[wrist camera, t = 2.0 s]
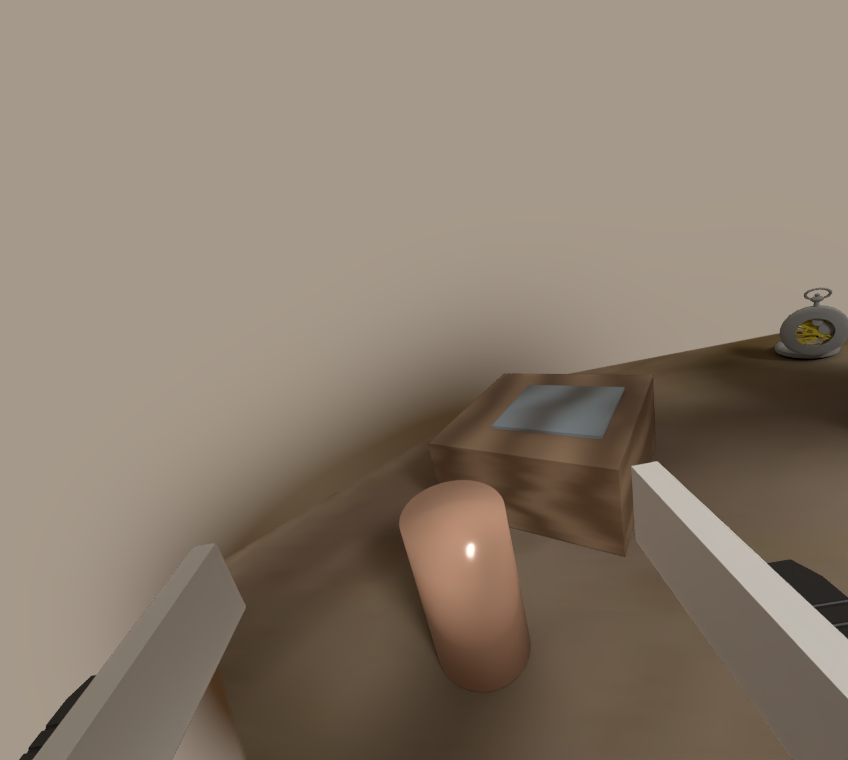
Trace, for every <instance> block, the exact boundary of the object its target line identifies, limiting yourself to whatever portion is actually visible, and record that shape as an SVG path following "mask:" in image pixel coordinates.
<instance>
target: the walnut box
mask: <svg viewBox="0 0 848 760" xmlns="http://www.w3.org/2000/svg"><path fill="white" fill-rule="evenodd" d="M655 442H656V439H655V413H654V387H653V375H601V374H503V375H502V376H501V377H500V378H499V379H497V380H496V382H494V383H493V384H492V385H491V386H490V387H489V388H488V389H487V390H486V391H484V392H483V393H482V394H481V395H480V396H479V397H478V398H477V399H476V400H475V401H474V402H472V404H470V405H469V406H468V407H467V408H466V409H465V410H464V411H463V412H462V413H461V414H459V415H458V416H457V417H456V418H455V419H454V420H453V421H452V422H451V423H450V424H449V425H448V426H446V427H445V428H444V429H443V430H442V431H441V432H440V433H439V434H438V435H437V436H435V437H434V438H433V439H432V440H431V441H430V442H429V443H428V445H429V449H430V453H431V457H432V462H433V466H434V470H435V474H436V478H437V482H438V484H440V483H444V482H448V481H456V480H471V481H477V482H481V483H484V484H486V485H488V486H490V487H492V488H494V489H495V490H496V491H497V492H498V493H499V494H500V495H501V497H502V499H503V501H504V504H505V509H506V515H507V520H508V525H509V527H511V528H515V529H519V530H523V531H527V532H531V533H535V534H539V535H542V536H546V537H550V538H554V539H558V540H562V541H566V542H570V543H574V544H578V545H582V546H585V547H589V548H593V549H597V550H601V551H605V552H609V553H613V554H617V555H621V556H624V557H625V555H626V551H627V547H628V544H629V540H630V536H631V532H632V528H633V525H634V507H633V489H632V471H631V466H634V465H640V464H645V463H650V461H651V457H652V453H653V449H654V446H655Z"/></svg>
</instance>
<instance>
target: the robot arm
mask: <svg viewBox="0 0 848 760" xmlns="http://www.w3.org/2000/svg"><path fill="white" fill-rule="evenodd" d="M631 471H632V489H633V507H634V524H635V540H636V542H637V543H638V544H639V546H640V547H641V549H642V550H643V551H644V553H645V554H646V556H647V557H648V558H649V560H650V561H651V563H652V564H653V565H654V567H655V568H656V570H657V571H658V572H659V574H660V575H661V577H662V578H663V579H664V581H665V582H666V584H667V585H668V586H669V588H670V589H671V591H672V592H673V593H674V595H675V596H676V598H677V599H678V600H679V602H680V603H681V605H682V606H683V607H684V609H685V610H686V612H687V613H688V614H689V616H690V617H691V619H692V620H693V621H694V623H695V624H696V626H697V627H698V628H699V630H700V631H701V633H702V634H703V635H704V637H705V638H706V640H707V641H708V642H709V644H710V645H711V647H712V648H713V649H714V651H715V652H716V654H717V655H718V656H719V658H720V659H721V661H722V662H723V663H724V665H725V666H726V668H727V669H728V670H729V672H730V673H731V675H732V676H733V677H734V679H735V680H736V682H737V683H738V684H739V686H740V687H741V689H742V690H743V691H744V693H745V694H746V696H747V697H748V698H749V700H750V701H751V703H752V704H753V706H754V707H755V708H756V710H757V711H758V713H759V714H760V715H761V717H762V718H763V720H764V721H765V722H766V724H767V725H768V727H769V728H770V729H771V731H772V732H773V734H774V735H775V736H776V738H777V739H778V741H779V742H780V743H781V745H782V746H783V748H784V749H785V750H786V752H787V753H788V755H789V756H790V757H791V759H792V760H848V597H847V596H845V595H844V594H843V593H842V592H841V591H839V590H838V589H837V588H836V587H835V586H833V585H832V584H831V583H830V582H829V581H827V580H826V579H825V578H824V577H823V576H821V575H819V574H817V573H815V572H813V571H811V570H810V569H808V568H806V567H804V566H802V565H800V564H798V563H796V562H794V561H793V560H791V559H790V560H784V561H778V562H772V563H766V562H765V561H764V560H763V559H761V558H760V557H759V556H758V555H757V554H756V553H755V552H754V551H753V550H752V549H751V548H750V547H749V546H748V545H747V544H745V543H744V542H743V541H742V540H741V539H740V538H739V537H738V536H737V535H736V534H735V533H734V532H733V531H732V530H730V529H729V528H728V527H727V526H726V525H725V524H724V523H723V522H722V521H721V520H720V519H719V518H718V517H717V516H715V515H714V514H713V513H712V512H711V511H710V510H709V509H708V508H707V507H706V506H705V505H704V504H703V503H702V502H700V501H699V500H698V499H697V498H696V497H695V496H694V495H693V494H692V493H691V492H690V491H689V490H688V489H687V488H685V487H684V486H683V485H682V484H681V483H680V482H679V481H678V480H677V479H676V478H675V477H674V476H673V475H672V474H670V473H669V472H668V471H667V470H666V469H665V468H664V467H663V466H662V465H661V464H660V463H659V462H658V461H656V462H651V463H645V464H640V465H634V466H631ZM245 608H246V605H245V603H244V601H243V599H242V597H241V595H240V593H239V591H238V589H237V586H236V584H235V582H234V580H233V578H232V576H231V574H230V572H229V570H228V567H227V565H226V563H225V561H224V559H223V557H222V555H221V553H220V551H219V548H218V547H217V544H216V543H212V544H206V545H201V546H196V547H193V548H192V550H191V551H190V552H189V553H188V555H187V556H186V557H185V559H184V560H183V561H182V563H181V564H180V565H179V567H178V568H177V569H176V571H175V572H174V573H173V575H172V576H171V577H170V578H169V580H168V581H167V582H166V584H165V585H164V587H163V588H162V589H161V590H160V592H159V593H158V594H157V596H156V597H155V598H154V600H153V601H152V602H151V604H150V605H149V606H148V608H147V609H146V610H145V612H144V613H143V614H142V616H141V617H140V618H139V620H138V621H137V622H136V624H135V625H134V626H133V627H132V629H131V630H130V631H129V633H128V634H127V635H126V637H125V638H124V640H123V641H122V642H121V643H120V645H119V646H118V647H117V649H116V650H115V652H114V653H113V654H112V655H111V657H110V658H109V659H108V661H107V662H106V663H105V665H104V666H103V667H102V669H101V670H100V671H99V673H98V674H97V675H95V676H91V677H90V678H89V679H88V680H87V681H86V682H84V683H83V684H82V685H81V686H80V687H79V688H78V689H77V690H76V691H75V692H74V693H73V694H72V695H71V696H70V697H68V699H67V700H66V701H65V702H64V703H63V705H62V706H61V707H60V708H59V710H58V711H57V712H56V713H55V715H54V716H53V717H52V719H51V720H50V721H49V722H48V724H47V725H46V729H45V730H44V731H41V733H40V734H39V735H38V737H37V738H36V739H35V740H34V742H33V743H32V744H31V746H30V747H29V751H28V752H27V753H26V754H23V756H22V757H21V758H20V759H19V760H172V758H173V757H174V755H175V753H176V751H177V748H178V746H179V744H180V742H181V740H182V738H183V736H184V734H185V732H186V730H187V728H188V726H189V724H190V722H191V719H192V717H193V715H194V713H195V711H196V709H197V707H198V705H199V703H200V701H201V699H202V697H203V695H204V693H205V691H206V689H207V687H208V685H209V683H210V681H211V678H212V676H213V674H214V672H215V670H216V668H217V666H218V664H219V662H220V660H221V658H222V656H223V654H224V652H225V650H226V648H227V646H228V643H229V641H230V639H231V637H232V635H233V633H234V631H235V629H236V627H237V625H238V623H239V621H240V619H241V617H242V615H243V613H244V611H245Z"/></svg>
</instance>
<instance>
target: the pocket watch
mask: <svg viewBox="0 0 848 760" xmlns="http://www.w3.org/2000/svg"><path fill="white" fill-rule="evenodd" d="M819 289H822V290H827V291H828V292H829V294H828V295H827V296H825V297H822V296H820V294H818V293H817V294H815V297H812V298H809V297H808V296H807V294H808V293H809V292H811V291H813V290H819ZM831 294H832V291H831V290H830V289H828V288H816V289H811V290H809V291H807V292H806V293H804V297H805V298H806V299H810V300H811V301H812V302H814V305H813V306H810V307H806V308H803V309H800V310H798V311H796V312H794V313H793V314H791V315H789V316H788V318H787V319H786V320H785V321H784V322H783V324H782V326H781V328H780V338H781V341H782V342H780V343H778V344H776V345H775V351H776V352H777V353H778V354H781V355H784V356H787V357H793V358H804V359H806V358H808V359H809V358H823V357H828V356H832V355H835V354H837V353H838V352H839V351H840V346H841V345H842V344H843V343H844V342H845V341H846V340H847V338H848V318H847V317H846V315H845V314H844V313H842V312H841V311H840V310H838V309H836V308H833V307H829V306H819V302H820V301H822V300H823V299H824V298H827V297H829V296H830V295H831ZM799 326H802V328H801V327H799ZM803 327H805V328H803ZM798 328H801V331H802V332H803V333H800V331H799V329H798ZM802 329H803V330H805V329H806V330H805V331H803V330H802ZM807 330H808V331H807ZM796 331H799V332H796ZM832 332H833V333H832ZM830 333H831V334H830ZM827 334H830V335H827ZM796 335H801V336H802V335H804V337H801V338H799V339H797V338H796ZM815 336H816V337H817V338H818V336H821V337H823V338H819V339H817V338H816V337H815ZM827 337H828V338H827ZM824 338H826V340H824ZM822 339H823V340H822Z"/></svg>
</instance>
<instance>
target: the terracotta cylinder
mask: <svg viewBox="0 0 848 760" xmlns="http://www.w3.org/2000/svg"><path fill="white" fill-rule="evenodd" d="M399 528H400V531H401V535H402V538H403V541H404V545H405V548H406V551H407V555H408V558H409V562H410V565H411V568H412V572H413V575H414V578H415V582H416V585H417V588H418V592H419V595H420V598H421V602H422V605H423V609H424V612H425V615H426V619H427V622H428V625H429V629H430V632H431V635H432V639H433V642H434V645H435V649H436V652H437V656H438V659H439V662H440V665H441V667H442V669H443V671H444V672H445V674H446V675H447V676H448V677H449V679H450V680H452V681H453V682H454V683H455V684H457V685H458V686H460V687H462V688H464V689H466V690H470V691H474V692H492V691H496V690H499V689H501V688H504V687H506V686H507V685H509V684H511V683H512V682H513V681H514V680H515V679H517V677H518V676H519V675H520V674H521V673H522V671H523V670H524V668H525V666H526V664H527V662H528V659H529V655H530V637H529V632H528V626H527V621H526V616H525V610H524V605H523V600H522V595H521V589H520V584H519V579H518V573H517V568H516V563H515V557H514V552H513V547H512V541H511V536H510V531H509V525H508V520H507V515H506V509H505V504H504V501H503V499H502V497H501V495H500V494H499V493H498V492H497V491H496V490H495V489H494V488H492V487H490V486H488V485H486V484H484V483H481V482H477V481H471V480H456V481H448V482H444V483H440V484H437V485H434V486H432V487H429V488H427V489H425V490H424V491H422V492H420V493H419V494H417V495H416V496H415V497H413V498H412V499H411V500H410V501H409V502H408V504H407V505H406V506H405V508H404V509H403V511H402V513H401V516H400V520H399Z"/></svg>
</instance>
